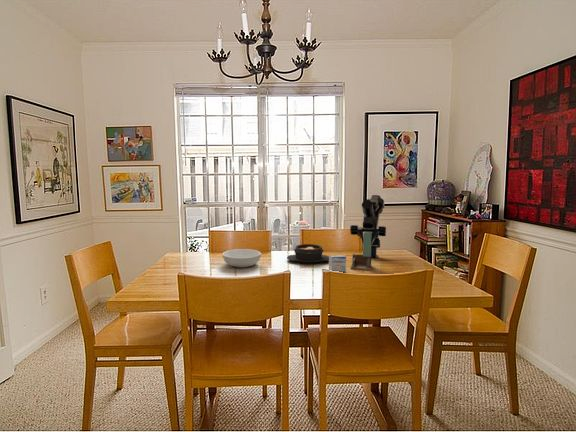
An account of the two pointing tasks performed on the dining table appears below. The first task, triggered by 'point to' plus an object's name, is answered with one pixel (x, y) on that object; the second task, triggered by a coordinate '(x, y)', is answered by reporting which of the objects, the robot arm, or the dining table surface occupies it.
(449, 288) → the dining table surface
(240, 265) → the serving bowl
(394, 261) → the dining table surface
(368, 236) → the book
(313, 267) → the dining table surface
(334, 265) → the medicine box
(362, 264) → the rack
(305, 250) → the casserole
